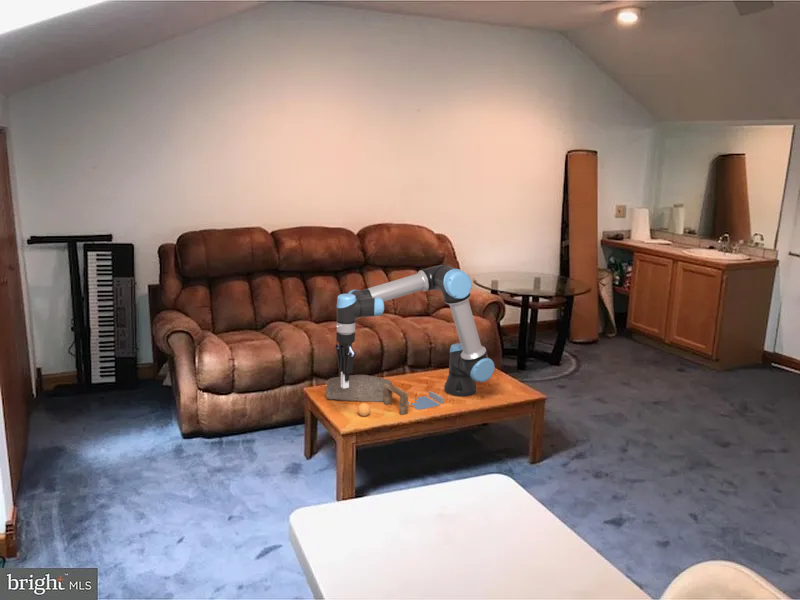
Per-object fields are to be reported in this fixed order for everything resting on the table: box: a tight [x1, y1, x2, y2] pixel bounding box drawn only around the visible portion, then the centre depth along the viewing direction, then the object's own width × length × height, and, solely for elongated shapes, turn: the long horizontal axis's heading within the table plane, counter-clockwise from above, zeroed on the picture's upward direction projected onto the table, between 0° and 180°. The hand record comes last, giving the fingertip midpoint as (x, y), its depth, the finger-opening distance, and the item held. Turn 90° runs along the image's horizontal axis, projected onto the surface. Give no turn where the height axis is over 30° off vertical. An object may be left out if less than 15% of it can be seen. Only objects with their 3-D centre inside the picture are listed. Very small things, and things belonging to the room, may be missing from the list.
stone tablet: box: [325, 374, 393, 403], centre depth 312 cm, size 20×8×30 cm
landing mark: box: [408, 395, 441, 411], centre depth 305 cm, size 12×12×1 cm
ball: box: [357, 402, 371, 417], centre depth 288 cm, size 6×6×6 cm
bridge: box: [383, 383, 409, 416], centre depth 296 cm, size 3×14×9 cm, turn 33°
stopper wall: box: [428, 390, 445, 405], centre depth 309 cm, size 1×10×2 cm, turn 33°
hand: (344, 387), depth 280 cm, fingers closed
